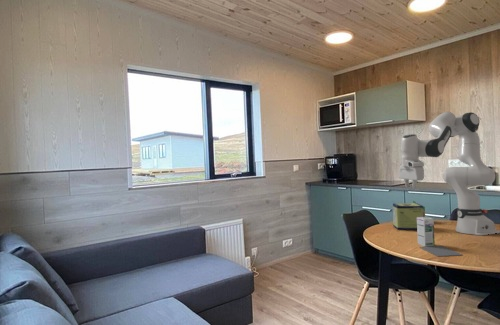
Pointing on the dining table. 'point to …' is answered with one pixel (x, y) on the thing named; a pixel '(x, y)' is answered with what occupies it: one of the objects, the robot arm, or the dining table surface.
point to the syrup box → (425, 231)
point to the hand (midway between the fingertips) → (410, 187)
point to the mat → (440, 251)
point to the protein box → (406, 215)
